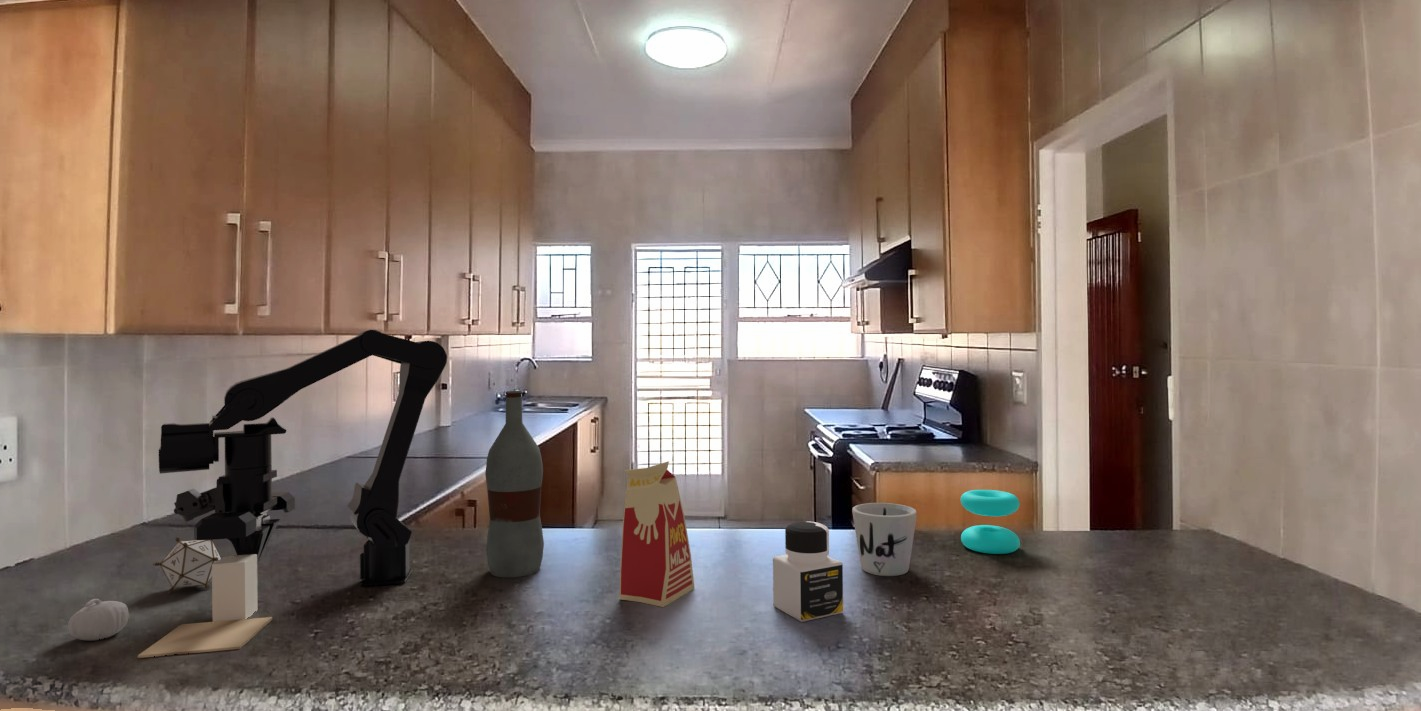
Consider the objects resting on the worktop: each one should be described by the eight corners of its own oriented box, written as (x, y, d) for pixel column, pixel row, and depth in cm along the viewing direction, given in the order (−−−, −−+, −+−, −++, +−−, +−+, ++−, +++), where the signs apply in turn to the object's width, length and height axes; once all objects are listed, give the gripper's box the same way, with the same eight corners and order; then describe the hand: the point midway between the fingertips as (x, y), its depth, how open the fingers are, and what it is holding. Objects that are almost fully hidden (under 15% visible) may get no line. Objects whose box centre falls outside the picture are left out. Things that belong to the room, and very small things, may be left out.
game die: (194, 615, 108) (177, 575, 102) (152, 592, 109) (133, 552, 104) (245, 572, 115) (232, 533, 109) (205, 551, 117) (190, 511, 111)
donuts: (1012, 501, 120) (953, 495, 126) (1012, 559, 120) (954, 550, 126) (1024, 491, 128) (969, 486, 134) (1025, 546, 128) (969, 538, 134)
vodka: (541, 559, 123) (540, 389, 123) (546, 575, 114) (544, 391, 114) (485, 565, 120) (484, 390, 120) (486, 581, 111) (484, 393, 111)
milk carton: (694, 588, 107) (693, 457, 107) (665, 608, 99) (664, 466, 99) (643, 580, 111) (642, 454, 111) (611, 599, 103) (610, 463, 103)
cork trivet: (272, 619, 96) (272, 616, 96) (240, 648, 86) (240, 646, 86) (181, 626, 94) (181, 624, 94) (137, 658, 84) (137, 655, 84)
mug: (847, 575, 112) (846, 513, 112) (863, 550, 126) (862, 495, 126) (914, 582, 109) (913, 518, 109) (923, 556, 122) (922, 499, 122)
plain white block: (257, 609, 100) (257, 554, 100) (245, 620, 96) (244, 562, 96) (226, 612, 99) (225, 556, 99) (212, 623, 95) (211, 564, 95)
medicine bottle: (801, 623, 93) (800, 533, 93) (772, 606, 99) (771, 521, 99) (844, 613, 96) (843, 526, 96) (813, 597, 102) (812, 516, 102)
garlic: (78, 650, 86) (77, 608, 86) (62, 641, 89) (62, 600, 89) (137, 633, 92) (137, 594, 92) (121, 625, 94) (120, 587, 94)
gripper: (217, 459, 109) (218, 558, 109) (148, 480, 91) (149, 599, 91) (295, 456, 112) (296, 554, 112) (243, 476, 93) (244, 592, 93)
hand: (249, 573), depth 102 cm, fingers closed
